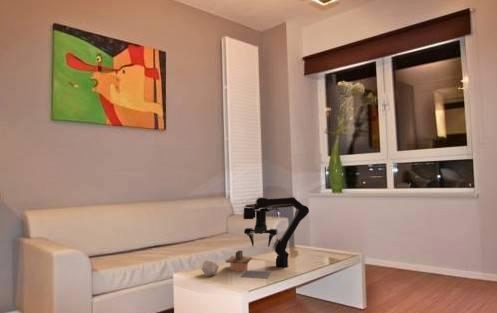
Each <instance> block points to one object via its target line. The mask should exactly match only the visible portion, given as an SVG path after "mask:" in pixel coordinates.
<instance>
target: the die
mask: <svg viewBox="0 0 497 313" xmlns="http://www.w3.org/2000/svg"><path fill="white" fill-rule="evenodd" d="M219 268H220V267H219V264H218V263H217V261H216V260H215V259H206V260H204V262H203V265H202V267H201V271H202V273H203V274H204V276H205V277H212V276H214V277H215V276H216V275H217V273H218V270H219Z"/></svg>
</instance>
